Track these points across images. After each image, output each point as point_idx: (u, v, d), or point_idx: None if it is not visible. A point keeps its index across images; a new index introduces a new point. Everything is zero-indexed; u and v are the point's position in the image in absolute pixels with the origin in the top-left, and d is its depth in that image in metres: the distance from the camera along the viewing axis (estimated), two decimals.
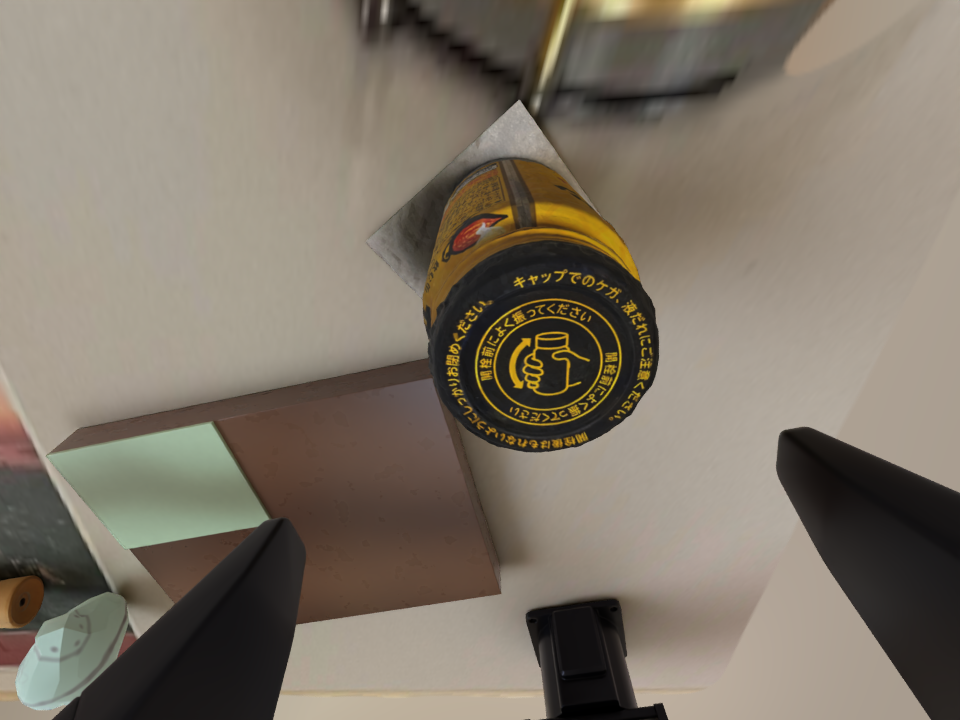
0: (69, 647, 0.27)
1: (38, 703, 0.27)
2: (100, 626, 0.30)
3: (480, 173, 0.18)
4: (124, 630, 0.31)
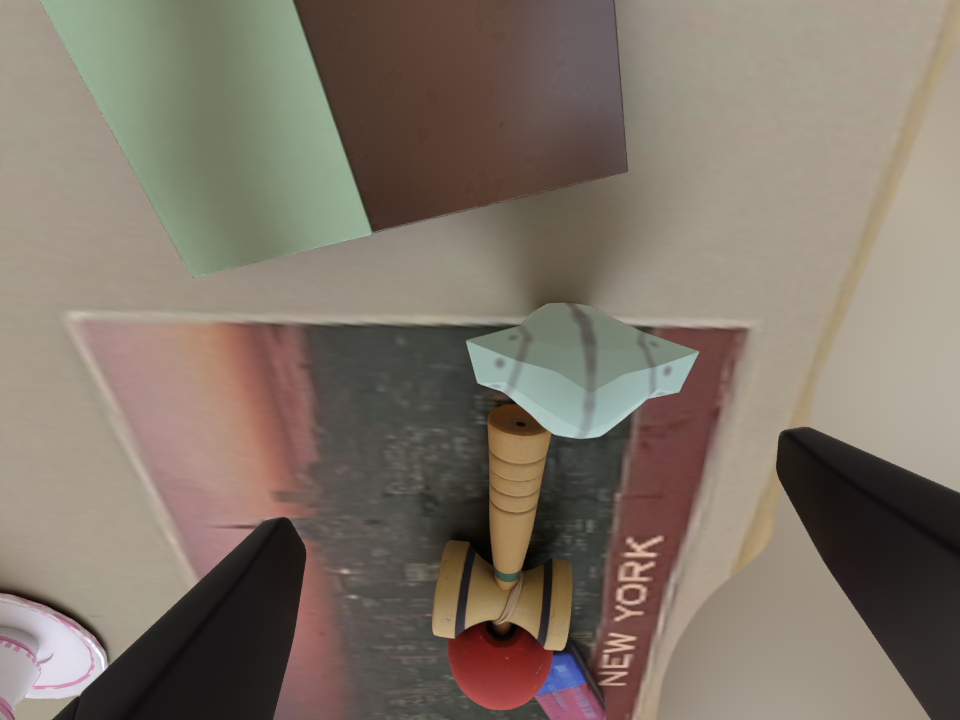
0: (508, 346, 0.16)
1: (584, 409, 0.15)
2: (532, 318, 0.18)
3: None
4: (584, 305, 0.19)
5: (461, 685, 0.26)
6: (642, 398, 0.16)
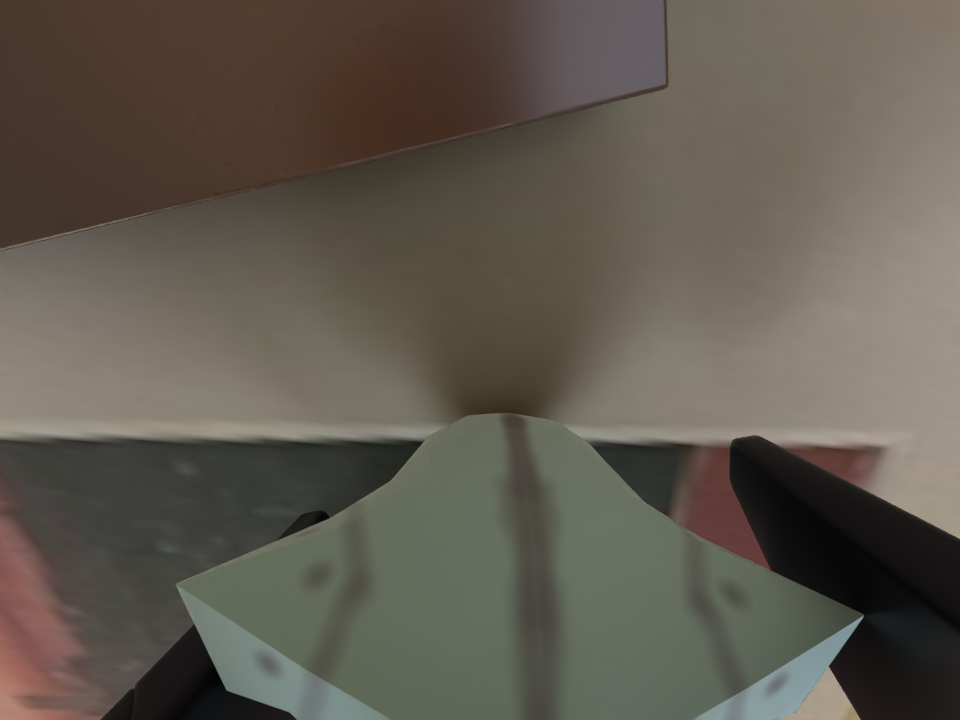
0: (296, 611, 0.05)
1: None
2: (405, 482, 0.07)
3: None
4: (545, 435, 0.08)
5: None
6: None
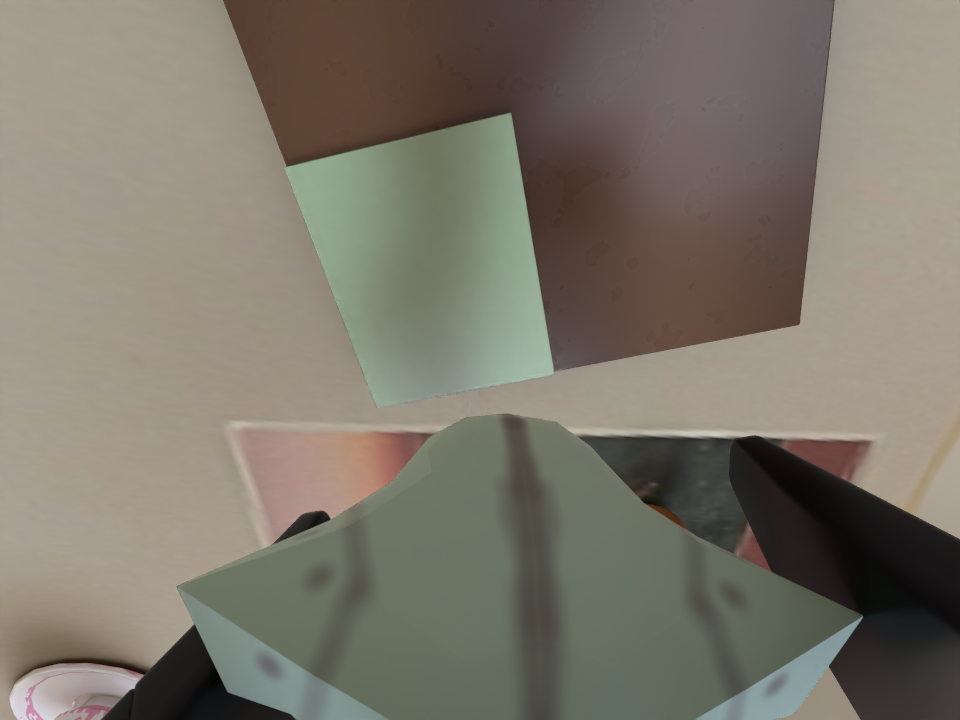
0: (297, 613, 0.05)
1: None
2: (406, 483, 0.07)
3: None
4: (545, 436, 0.08)
5: None
6: None
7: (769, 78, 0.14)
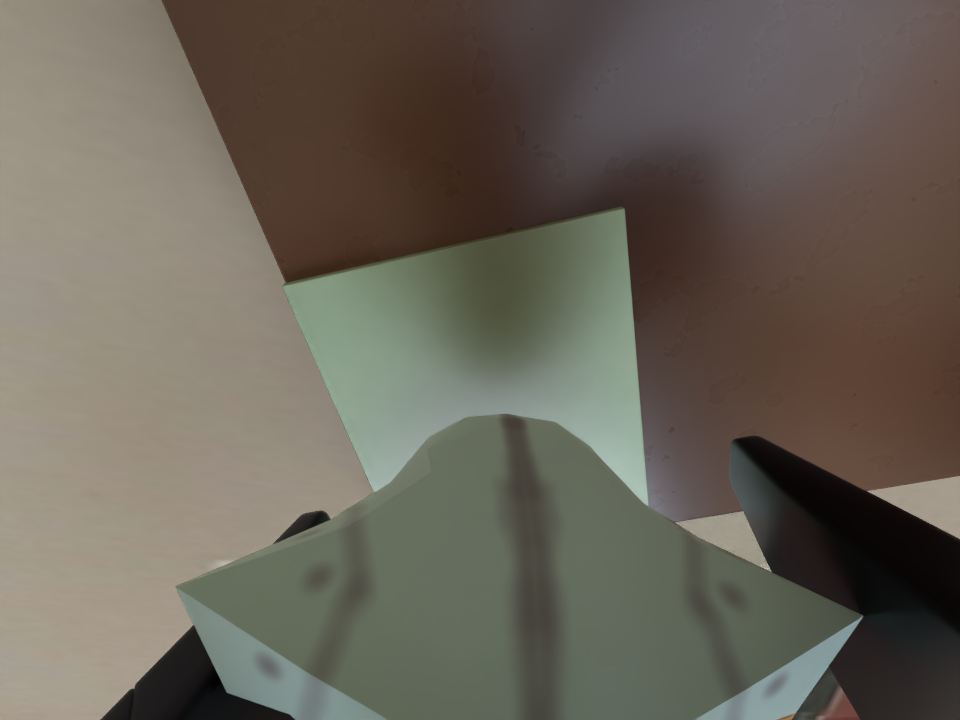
0: (296, 613, 0.05)
1: None
2: (406, 483, 0.07)
3: None
4: (545, 435, 0.08)
5: None
6: None
7: None
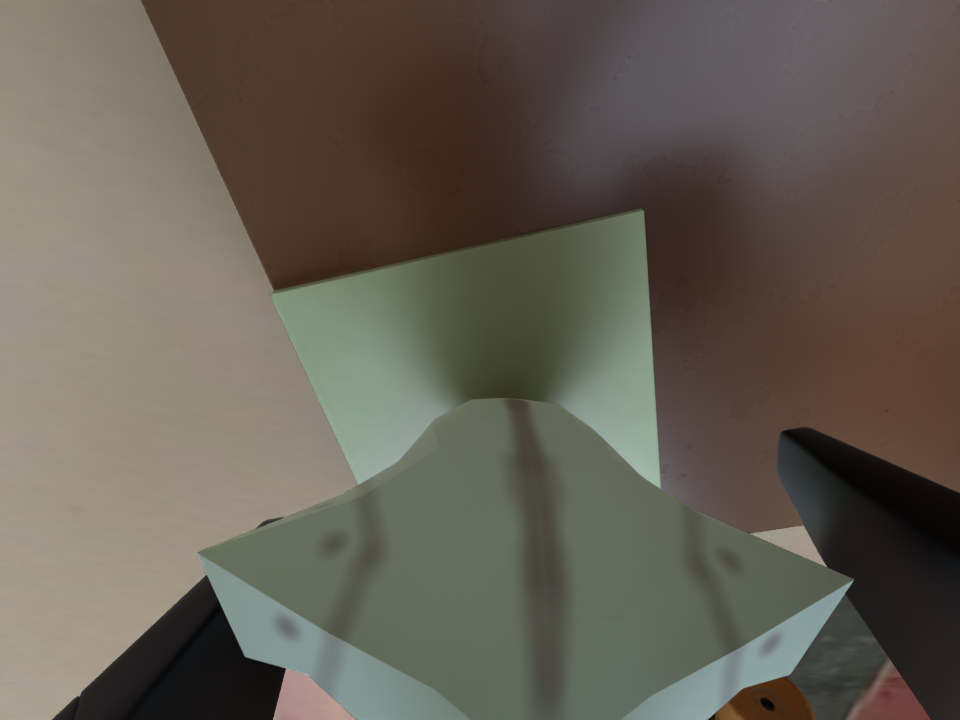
0: (313, 576, 0.06)
1: None
2: (415, 460, 0.07)
3: None
4: (548, 415, 0.08)
5: None
6: None
7: None
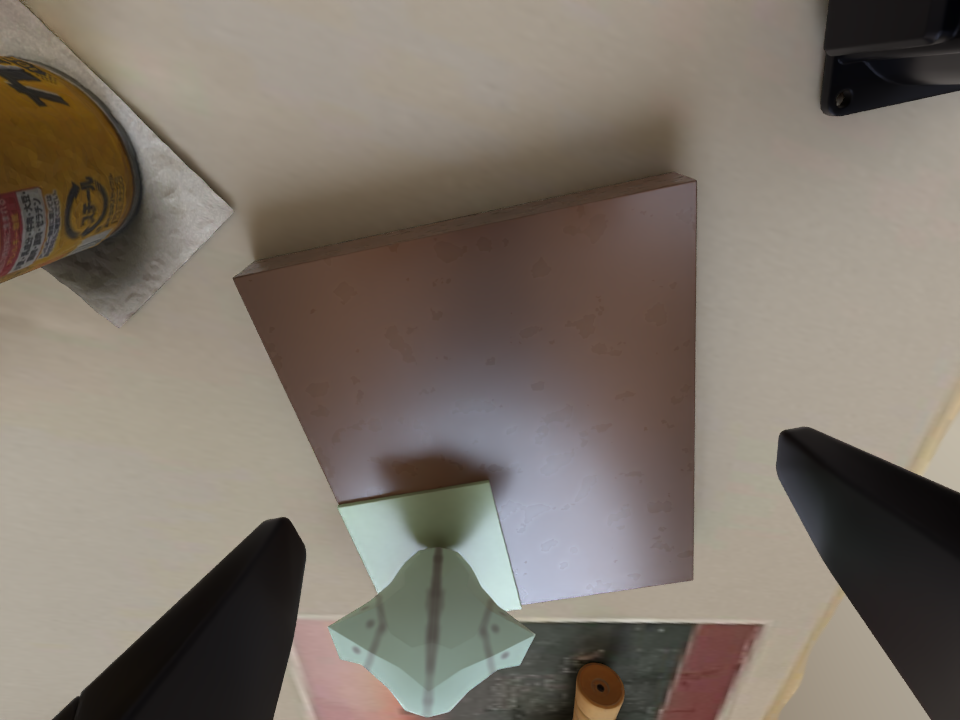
0: (364, 634, 0.18)
1: (423, 704, 0.18)
2: (396, 588, 0.20)
3: None
4: (448, 566, 0.21)
5: None
6: (482, 679, 0.19)
7: (657, 464, 0.21)
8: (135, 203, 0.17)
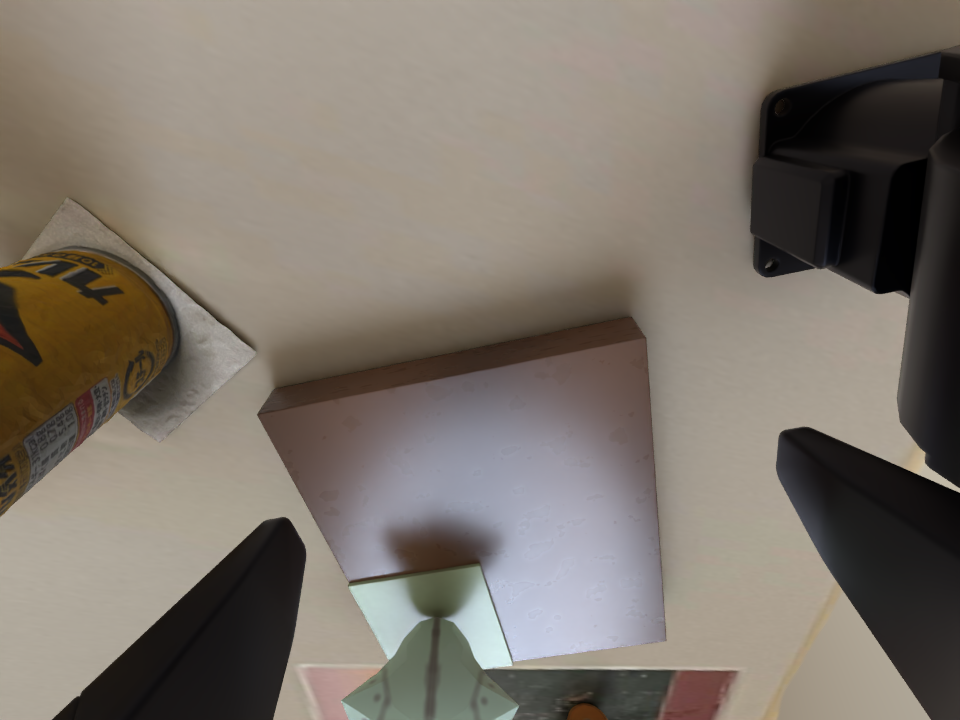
0: (372, 707, 0.22)
1: None
2: (399, 663, 0.23)
3: None
4: (444, 640, 0.24)
5: None
6: None
7: (627, 549, 0.24)
8: (174, 349, 0.21)
